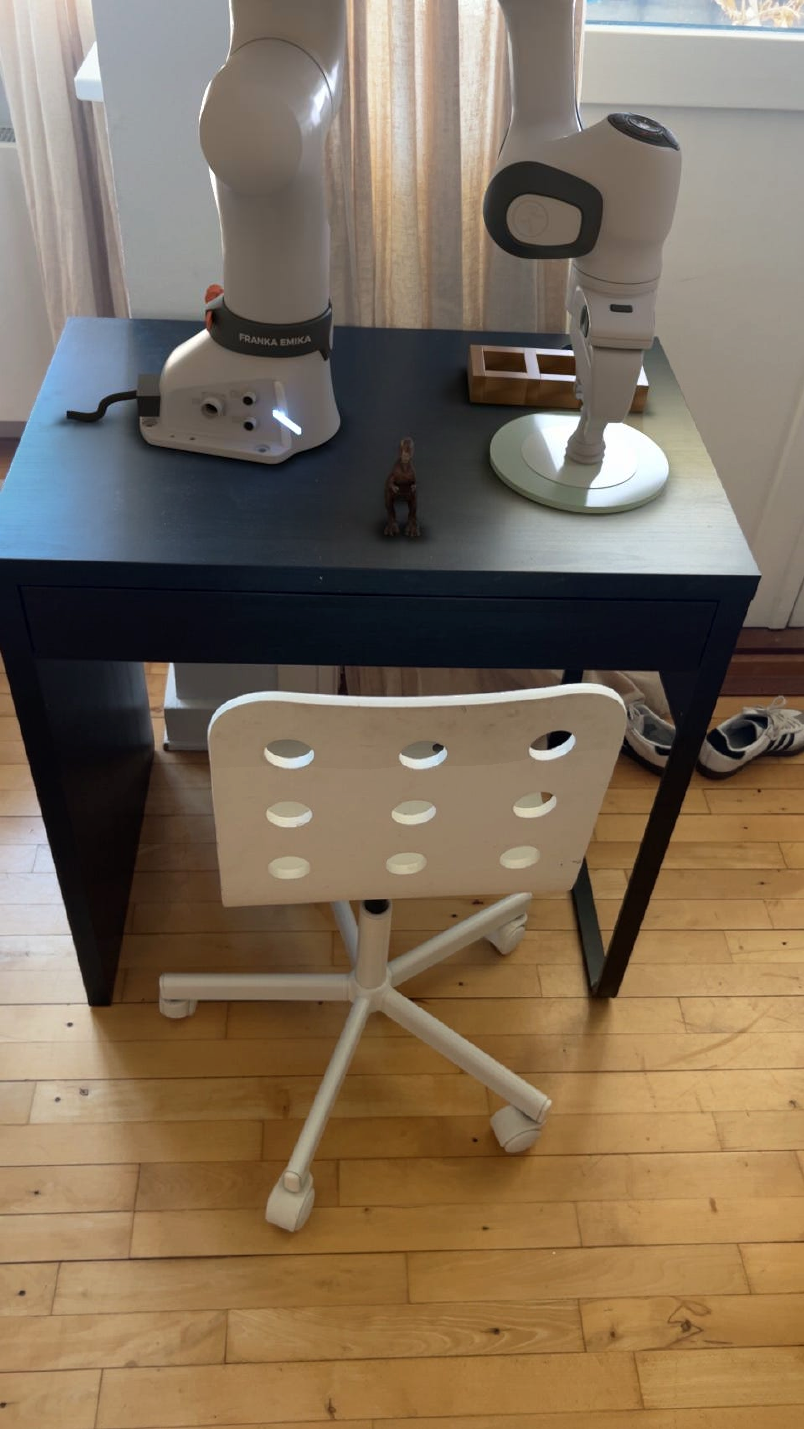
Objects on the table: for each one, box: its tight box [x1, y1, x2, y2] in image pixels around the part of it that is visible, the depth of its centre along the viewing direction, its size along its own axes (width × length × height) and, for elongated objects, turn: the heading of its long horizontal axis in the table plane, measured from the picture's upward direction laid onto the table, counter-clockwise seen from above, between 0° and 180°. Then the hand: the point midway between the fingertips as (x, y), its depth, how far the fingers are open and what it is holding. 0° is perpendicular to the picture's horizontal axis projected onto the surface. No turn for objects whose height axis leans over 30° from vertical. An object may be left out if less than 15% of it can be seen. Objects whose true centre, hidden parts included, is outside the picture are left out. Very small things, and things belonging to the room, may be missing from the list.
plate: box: [488, 410, 670, 514], centre depth 130 cm, size 20×20×1 cm
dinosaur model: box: [383, 437, 421, 538], centre depth 117 cm, size 4×12×15 cm
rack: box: [466, 344, 650, 413], centre depth 141 cm, size 21×8×4 cm, turn 91°
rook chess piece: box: [565, 393, 606, 465], centre depth 126 cm, size 4×4×8 cm
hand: (586, 417), depth 126 cm, fingers open, 8 cm apart
